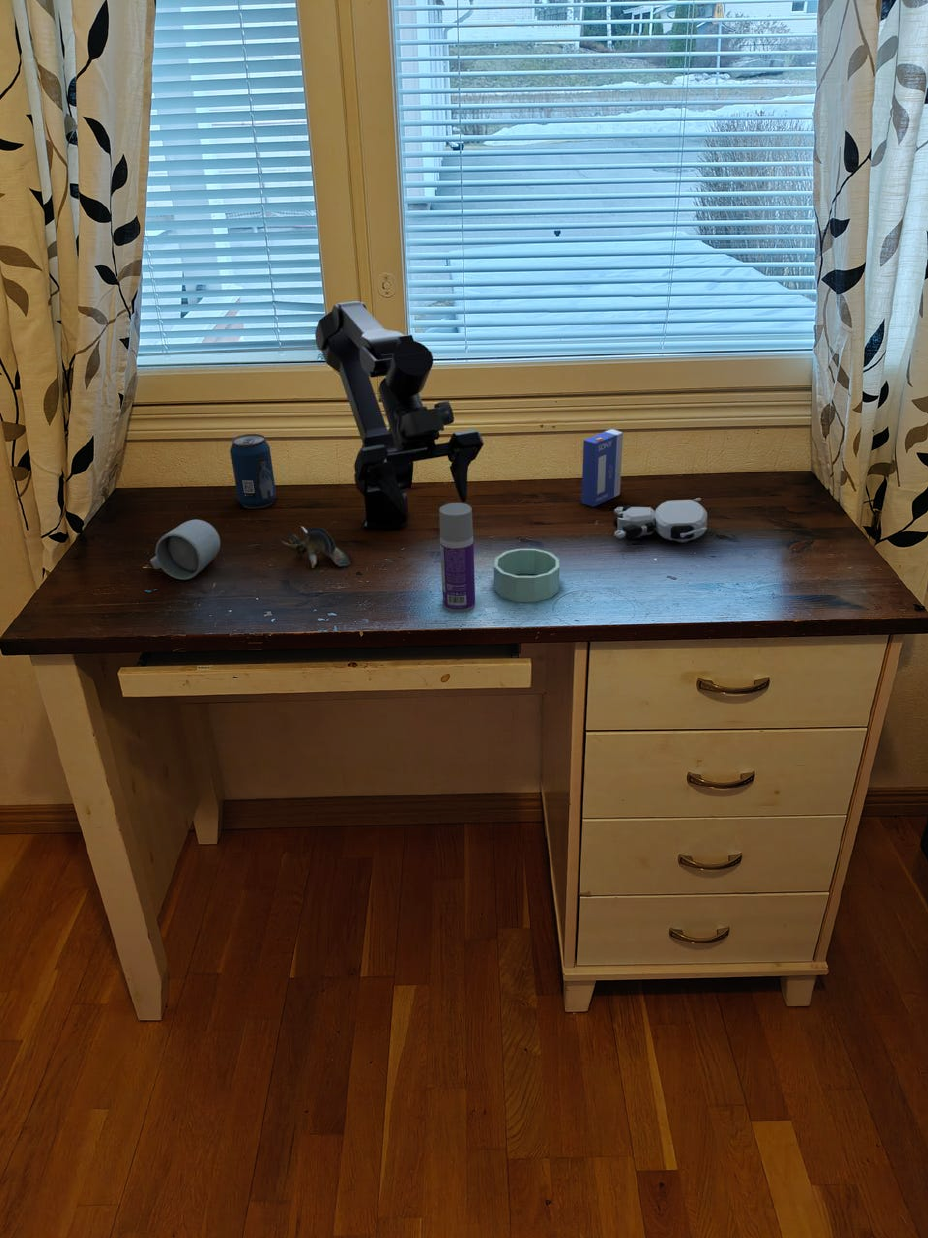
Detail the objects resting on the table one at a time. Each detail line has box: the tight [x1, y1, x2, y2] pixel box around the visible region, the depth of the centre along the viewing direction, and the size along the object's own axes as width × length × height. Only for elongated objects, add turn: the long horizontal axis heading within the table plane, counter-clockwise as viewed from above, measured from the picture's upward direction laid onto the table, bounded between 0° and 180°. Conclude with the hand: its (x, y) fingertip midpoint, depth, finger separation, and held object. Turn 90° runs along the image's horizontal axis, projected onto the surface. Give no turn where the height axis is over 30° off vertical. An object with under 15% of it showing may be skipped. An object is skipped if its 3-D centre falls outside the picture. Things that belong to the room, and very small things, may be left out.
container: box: [438, 502, 476, 614], centre depth 134 cm, size 5×5×15 cm
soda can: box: [229, 433, 277, 509], centre depth 170 cm, size 7×7×12 cm
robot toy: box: [612, 497, 708, 543], centre depth 155 cm, size 12×4×15 cm
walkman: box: [581, 428, 624, 508], centre depth 167 cm, size 8×3×12 cm, turn 134°
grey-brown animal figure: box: [281, 526, 351, 569], centre depth 150 cm, size 8×7×9 cm
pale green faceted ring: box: [493, 548, 561, 603], centre depth 141 cm, size 10×10×4 cm
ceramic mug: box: [149, 519, 222, 581], centre depth 149 cm, size 11×8×8 cm
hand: (435, 507), depth 138 cm, fingers open, 9 cm apart
